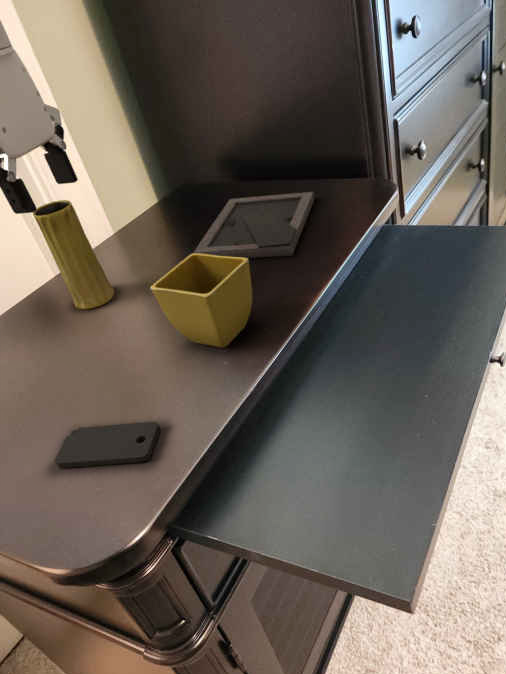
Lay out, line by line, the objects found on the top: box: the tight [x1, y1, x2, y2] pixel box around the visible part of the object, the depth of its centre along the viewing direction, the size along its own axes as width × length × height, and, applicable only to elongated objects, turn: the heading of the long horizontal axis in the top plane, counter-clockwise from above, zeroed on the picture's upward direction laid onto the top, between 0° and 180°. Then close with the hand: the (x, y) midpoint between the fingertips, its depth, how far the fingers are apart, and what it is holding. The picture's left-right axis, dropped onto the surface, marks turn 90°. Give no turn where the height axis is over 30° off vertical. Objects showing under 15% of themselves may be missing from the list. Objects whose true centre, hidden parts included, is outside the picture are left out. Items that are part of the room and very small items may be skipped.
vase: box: [32, 199, 115, 310], centre depth 75 cm, size 6×6×14 cm
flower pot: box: [150, 252, 253, 349], centre depth 64 cm, size 9×9×9 cm
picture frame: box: [193, 191, 315, 259], centre depth 89 cm, size 16×2×21 cm
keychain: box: [54, 421, 161, 469], centre depth 54 cm, size 5×1×10 cm
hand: (48, 196), depth 69 cm, fingers open, 9 cm apart
